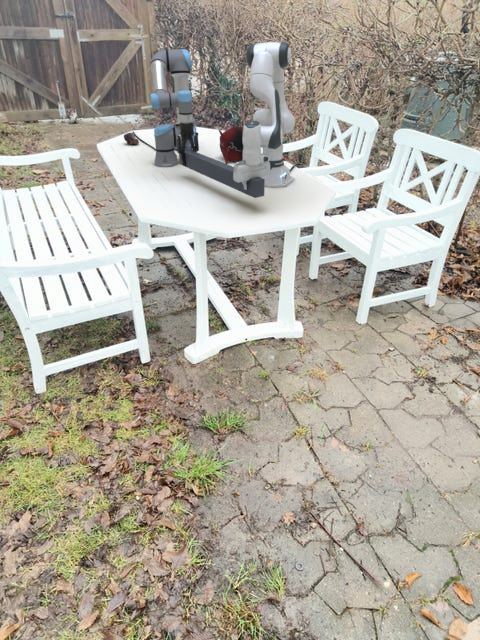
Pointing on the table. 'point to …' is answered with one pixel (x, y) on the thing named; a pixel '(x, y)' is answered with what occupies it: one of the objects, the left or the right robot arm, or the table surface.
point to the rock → (131, 138)
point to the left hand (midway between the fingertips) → (189, 164)
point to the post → (221, 173)
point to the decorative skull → (232, 144)
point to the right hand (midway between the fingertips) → (251, 187)
